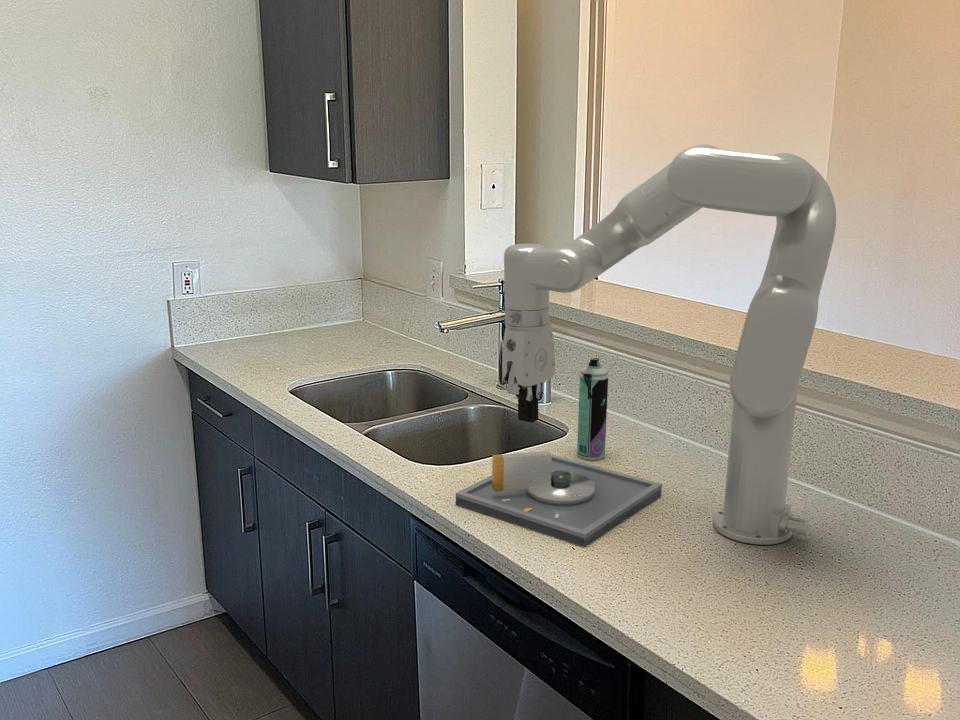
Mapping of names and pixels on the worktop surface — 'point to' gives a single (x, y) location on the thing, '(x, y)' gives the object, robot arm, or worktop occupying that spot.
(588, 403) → the spray can
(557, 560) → the worktop surface
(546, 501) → the dial
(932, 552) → the worktop surface
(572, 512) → the panel
